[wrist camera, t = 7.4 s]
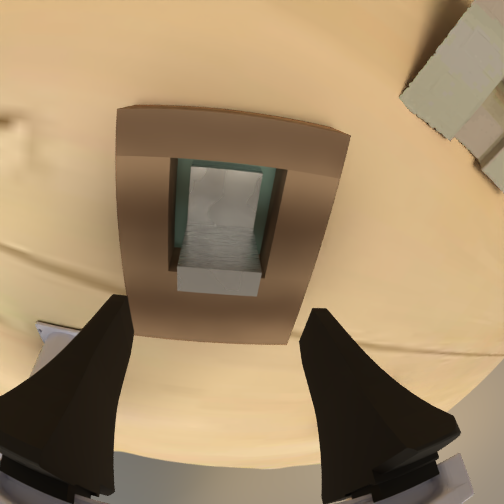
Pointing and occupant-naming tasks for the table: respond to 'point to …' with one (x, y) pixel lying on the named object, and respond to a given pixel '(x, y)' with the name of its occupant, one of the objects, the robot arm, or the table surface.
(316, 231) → the well block
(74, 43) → the table surface
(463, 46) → the grey slanted stand
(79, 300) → the table surface
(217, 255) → the grey block
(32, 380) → the robot arm
